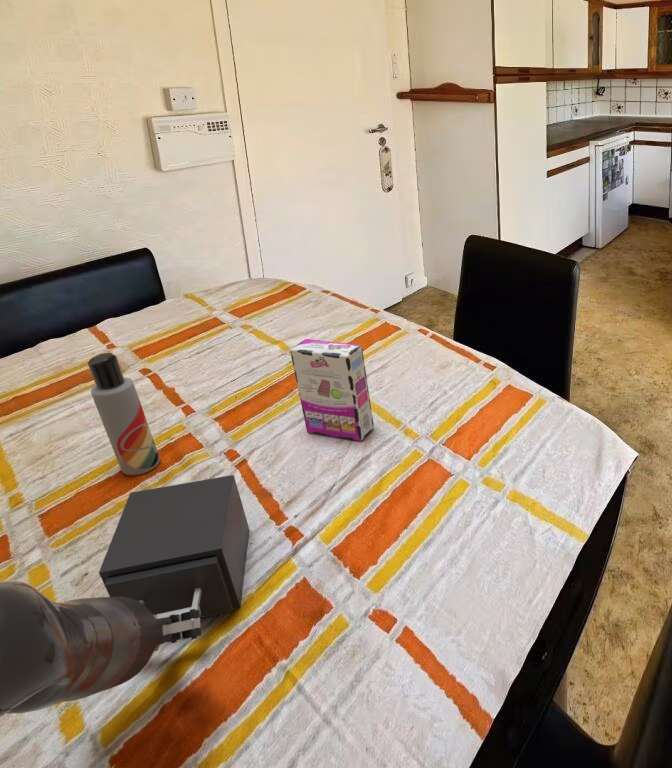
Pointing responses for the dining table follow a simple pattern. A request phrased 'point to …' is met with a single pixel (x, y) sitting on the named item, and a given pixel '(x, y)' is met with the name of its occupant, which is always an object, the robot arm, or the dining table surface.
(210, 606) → the drawer
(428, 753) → the dining table surface
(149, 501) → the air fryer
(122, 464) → the lotion bottle
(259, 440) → the dining table surface
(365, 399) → the candy bar box
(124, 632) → the robot arm
